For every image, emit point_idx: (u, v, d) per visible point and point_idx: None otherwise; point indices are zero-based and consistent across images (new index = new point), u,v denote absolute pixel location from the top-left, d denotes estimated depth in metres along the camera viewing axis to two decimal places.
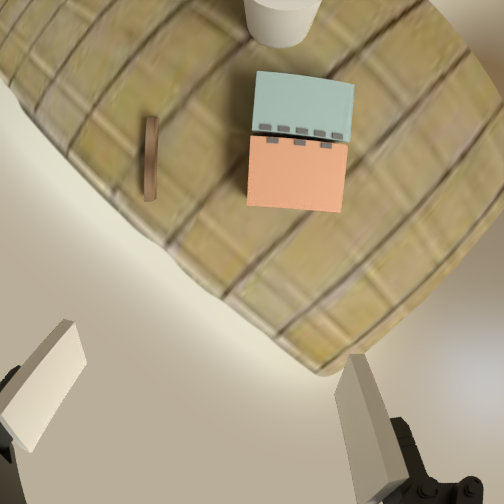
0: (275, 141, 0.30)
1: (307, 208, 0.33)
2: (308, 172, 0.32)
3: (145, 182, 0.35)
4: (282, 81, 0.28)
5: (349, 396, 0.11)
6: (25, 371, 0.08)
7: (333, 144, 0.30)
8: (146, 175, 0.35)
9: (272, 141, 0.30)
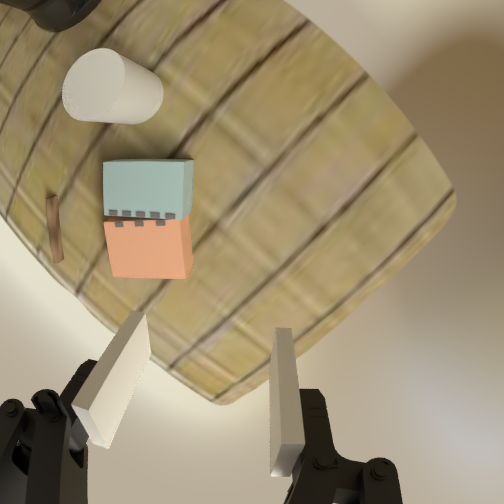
0: (120, 225, 0.35)
1: (157, 277, 0.38)
2: (151, 247, 0.36)
3: (52, 248, 0.40)
4: (122, 169, 0.32)
5: (273, 366, 0.12)
6: (105, 363, 0.10)
7: (166, 220, 0.35)
8: (52, 243, 0.40)
9: (118, 225, 0.35)
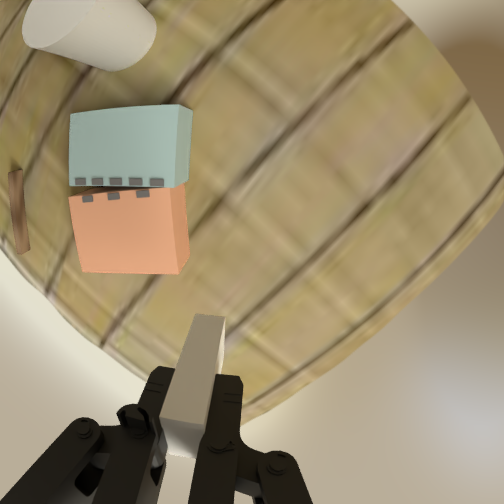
0: (89, 199, 0.24)
1: (139, 272, 0.27)
2: (129, 230, 0.25)
3: (15, 236, 0.29)
4: (93, 120, 0.21)
5: None
6: (185, 369, 0.10)
7: (151, 190, 0.24)
8: (14, 229, 0.28)
9: (86, 199, 0.24)
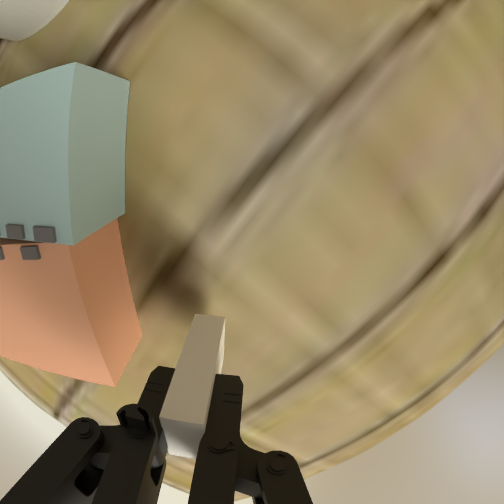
0: None
1: (58, 372, 0.13)
2: (28, 311, 0.11)
3: None
4: None
5: None
6: (185, 369, 0.10)
7: (41, 246, 0.10)
8: None
9: None
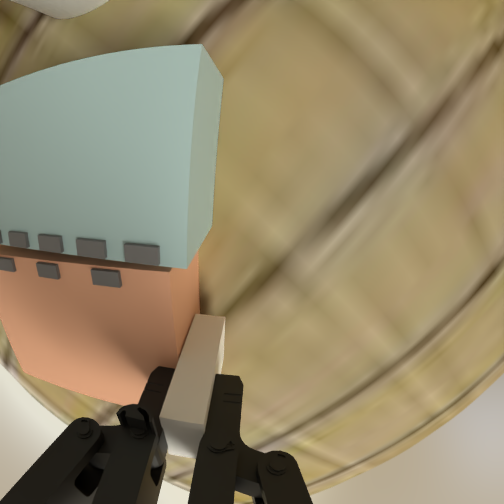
0: (8, 266, 0.10)
1: (113, 401, 0.12)
2: (87, 338, 0.11)
3: None
4: (8, 103, 0.07)
5: None
6: (185, 369, 0.10)
7: (125, 272, 0.10)
8: None
9: (4, 266, 0.10)
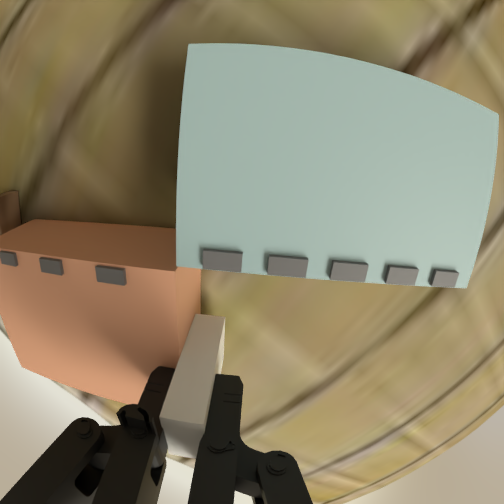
0: (10, 260, 0.10)
1: (112, 398, 0.12)
2: (88, 335, 0.11)
3: None
4: (286, 77, 0.07)
5: None
6: (185, 369, 0.10)
7: (130, 270, 0.10)
8: None
9: (6, 260, 0.10)
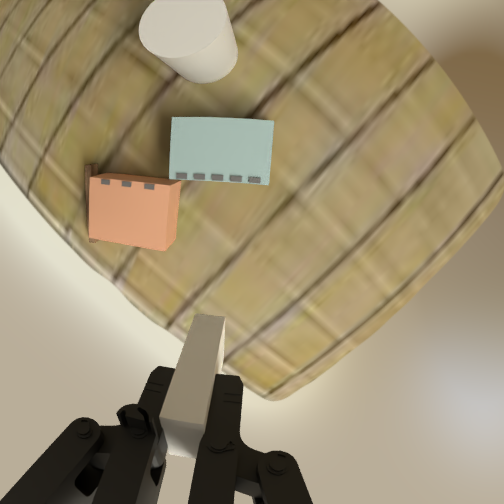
0: (106, 182, 0.31)
1: (135, 245, 0.34)
2: (134, 211, 0.33)
3: (88, 225, 0.36)
4: (197, 125, 0.29)
5: None
6: (185, 369, 0.10)
7: (156, 185, 0.31)
8: (88, 219, 0.36)
9: (104, 182, 0.31)
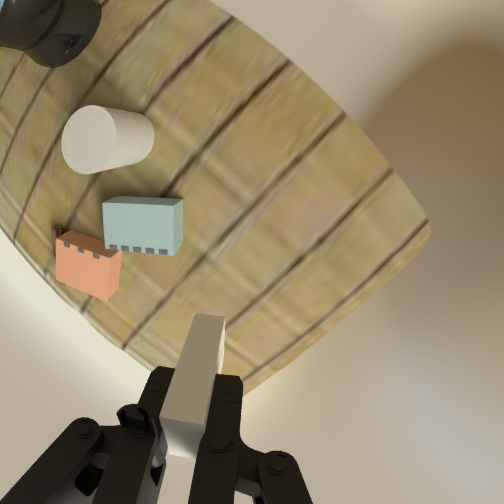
0: (67, 245, 0.40)
1: (86, 292, 0.43)
2: (86, 270, 0.41)
3: None
4: (119, 210, 0.37)
5: None
6: (185, 369, 0.10)
7: (100, 256, 0.40)
8: None
9: (66, 245, 0.40)
